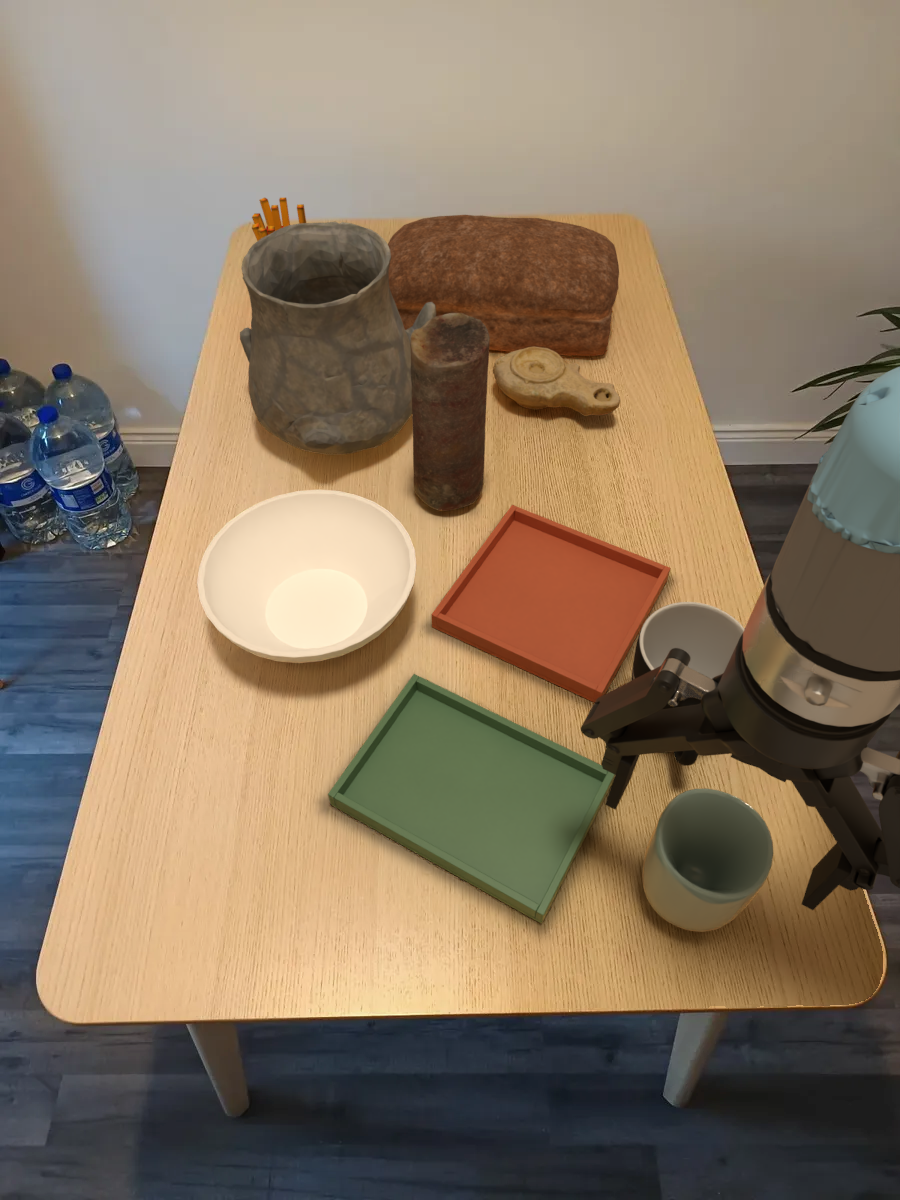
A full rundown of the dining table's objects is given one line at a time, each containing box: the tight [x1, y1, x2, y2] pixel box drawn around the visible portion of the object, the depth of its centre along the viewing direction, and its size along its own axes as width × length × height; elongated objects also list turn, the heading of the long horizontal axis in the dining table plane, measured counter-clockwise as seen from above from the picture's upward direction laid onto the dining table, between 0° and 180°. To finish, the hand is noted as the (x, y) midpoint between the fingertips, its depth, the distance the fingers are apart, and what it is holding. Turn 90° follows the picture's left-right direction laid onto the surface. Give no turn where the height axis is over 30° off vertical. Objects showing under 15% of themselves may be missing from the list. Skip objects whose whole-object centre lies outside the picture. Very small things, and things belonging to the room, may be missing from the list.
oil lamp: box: [492, 347, 621, 417], centre depth 99 cm, size 11×14×5 cm
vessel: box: [239, 221, 436, 456], centre depth 91 cm, size 22×22×20 cm
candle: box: [410, 313, 490, 512], centre depth 84 cm, size 8×7×20 cm
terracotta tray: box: [430, 504, 671, 704], centre depth 82 cm, size 17×16×2 cm
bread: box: [387, 214, 620, 357], centre depth 107 cm, size 17×29×11 cm, turn 82°
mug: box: [631, 601, 745, 767], centre depth 70 cm, size 12×9×10 cm
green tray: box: [327, 673, 615, 924], centre depth 70 cm, size 19×13×2 cm
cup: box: [641, 787, 774, 933], centre depth 62 cm, size 8×8×10 cm
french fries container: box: [251, 197, 307, 242], centre depth 106 cm, size 7×9×14 cm
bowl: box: [196, 488, 417, 664], centre depth 80 cm, size 20×20×7 cm
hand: (711, 838), depth 58 cm, fingers open, 13 cm apart
